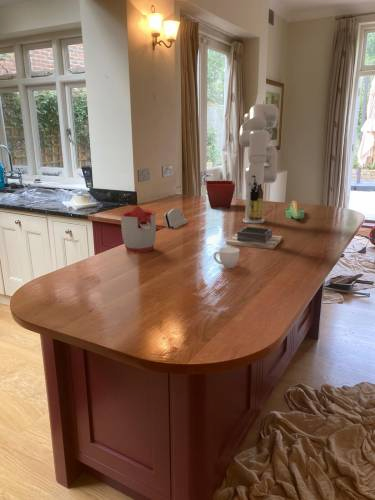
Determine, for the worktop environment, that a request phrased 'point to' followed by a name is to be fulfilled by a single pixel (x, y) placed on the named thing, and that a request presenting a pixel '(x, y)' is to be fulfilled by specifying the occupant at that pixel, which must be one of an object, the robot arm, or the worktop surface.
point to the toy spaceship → (294, 211)
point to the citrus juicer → (138, 229)
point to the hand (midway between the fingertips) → (256, 199)
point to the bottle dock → (255, 238)
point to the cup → (228, 256)
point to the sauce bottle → (256, 205)
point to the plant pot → (220, 193)
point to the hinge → (174, 218)
